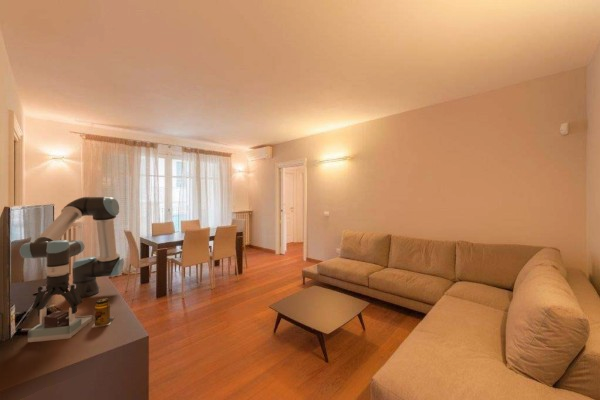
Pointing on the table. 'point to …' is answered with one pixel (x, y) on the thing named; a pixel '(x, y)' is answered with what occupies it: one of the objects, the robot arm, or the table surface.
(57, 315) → the box
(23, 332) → the table surface
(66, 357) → the table surface
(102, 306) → the condiment
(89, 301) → the table surface
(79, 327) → the tray
